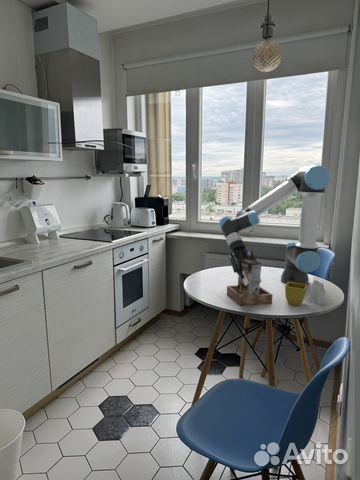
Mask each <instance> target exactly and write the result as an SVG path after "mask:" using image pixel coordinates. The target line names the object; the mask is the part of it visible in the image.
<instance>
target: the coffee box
mask: <svg viewBox="0 0 360 480" xmlns="http://www.w3.org/2000/svg"><path fill="white" fill-rule="evenodd" d="M240 264H241V266H242V271H244V272H245V275H246V277H247V279H248V282H249V284H248V285H247V286H245V284H244V282H243V280H242V279H241V278H240V275H239V274H238V275H237V277H238V279H237V285H238V291H239V292H241V293H243V294H245V295H247V296H250V295H259V286H260V284H261V283H260V278H261V273H262V262H259V261H258V260H257V261H254V260H252V259H240Z"/></svg>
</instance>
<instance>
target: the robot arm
mask: <svg viewBox="0 0 360 480" xmlns="http://www.w3.org/2000/svg"><path fill="white" fill-rule="evenodd" d="M330 180H331V175H330V172H329V170H328V168H326V167H324V166H323V165H318V164H313V165H306V166H303V167H301V168H300V169H298V170H297V171H295V172H294V173H293V174H292V175H290V176H289V177H288V178H286V181H284V182H283V183H281V184H280V185H278V186H277V187H275V188H273V190H271V191H269V192H268V193H267V194H265V195H263V196H262V197H259V199H257V200H256V201H254V202H253V203H252V204H250V205H248V206H247V207H245V208H243V209H242V210H239V211H237V212H236V214H235V217H234V218H233V217H232V216H231V215H228V216H226V215H225V216H224V217H222V218H221V219H220V220H219V227H220V229H221V231H222V234H223V236H224V238H225V240H226V243H227V245H228V247H229V249H230V253H229V254H228V255H227V257H228V258H229V260H230V264H231V268H232V270H233V272H234V274H235V273H236V274H237V275H238V276H239V275H240V278H241V279H242V280H243V282H244V284H245V286H247V285H248V284H249V282H248V279H247V277H246V275H245V272H244V271H242V266H241V264H240V259H252V260H254V261H257V262H258V260H257V258H256V257H255V256H254V251H252V250H250V251H248V250H247V249H246V245H245V242H244V240H243V238H242V235H241V234H240V232H241V231H243V230H247V229H249V228H251V227H254V226H256V225H258V224H260V219H259V216H261V215H262V214H264V213H265V212H267V211H268V210H271V209H272V208H273V207H274V206H276V205H278V204H279V203H280V202H282V201H284V200H286V199H287V198H289V197H290V196H292V195H294V193H295V194H298V193H300V194H301V195H302V201H301V211H300V218H299V228H298V230H299V232H298V240H297V242H296V241H289V242H287V244H286V248H285V249H286V250H285V251H286V252H285V263H284V264H285V265H284V269H283V271H282V274H281V276H280V281H281V282H283V283H284V284H287V283H288V282H294V283H300V284H307V285H308V284H309V282H310V278H309V275H308V274H309V273H313V272H314V271H316V270H317V269H318V268H319V266H320V264H321V258H320V255H319V245H318V244H317V236H318V235H317V234H318V226H319V218H320V208H321V198H322V196H323V195H325V194H326V193H325V192H326V187H327V186H328V185H329V182H330ZM262 282H263V281H262V278H261V277H260V284H261V283H262Z"/></svg>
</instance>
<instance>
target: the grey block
mask: <svg viewBox="0 0 360 480" xmlns="http://www.w3.org/2000/svg"><path fill="white" fill-rule="evenodd" d="M309 287H310V288H309V298H308V300H310V301H311V302H312V303H314V304H316V305H325V301H326V300H325V299H326V289H325V286H324V283H323V282H320V281H318V280H316V279H313V282H312V283H311V286H309Z"/></svg>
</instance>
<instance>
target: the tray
mask: <svg viewBox="0 0 360 480" xmlns="http://www.w3.org/2000/svg"><path fill="white" fill-rule="evenodd" d="M226 296H228V297H229V298H230V299H232V301H233V302H235V303H236V304H237V305H238V306H240V307H248V306H249V307H250V306H261V305H270V304H271V305H272V304H273V293H271V292H269V291H268V290H266V289H264V288H263V287H262V286H260V285H259V295H250V296H247V295H245V294H243V293H241V292H239V291H238V284H237V285H236V284H235V285H226Z"/></svg>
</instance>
